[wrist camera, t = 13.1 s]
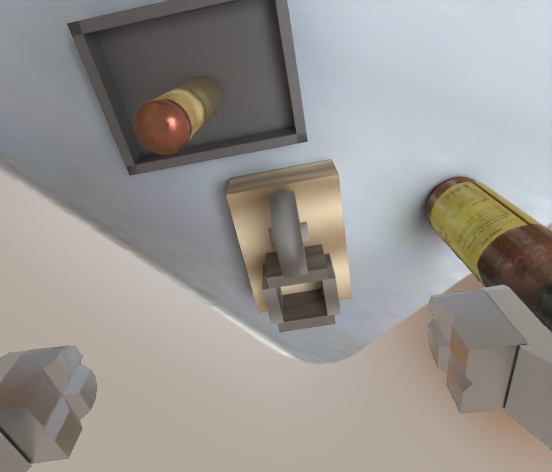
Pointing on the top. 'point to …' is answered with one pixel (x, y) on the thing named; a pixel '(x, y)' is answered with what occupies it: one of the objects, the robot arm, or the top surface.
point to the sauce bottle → (495, 241)
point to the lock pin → (177, 115)
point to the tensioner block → (293, 242)
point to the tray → (197, 74)
